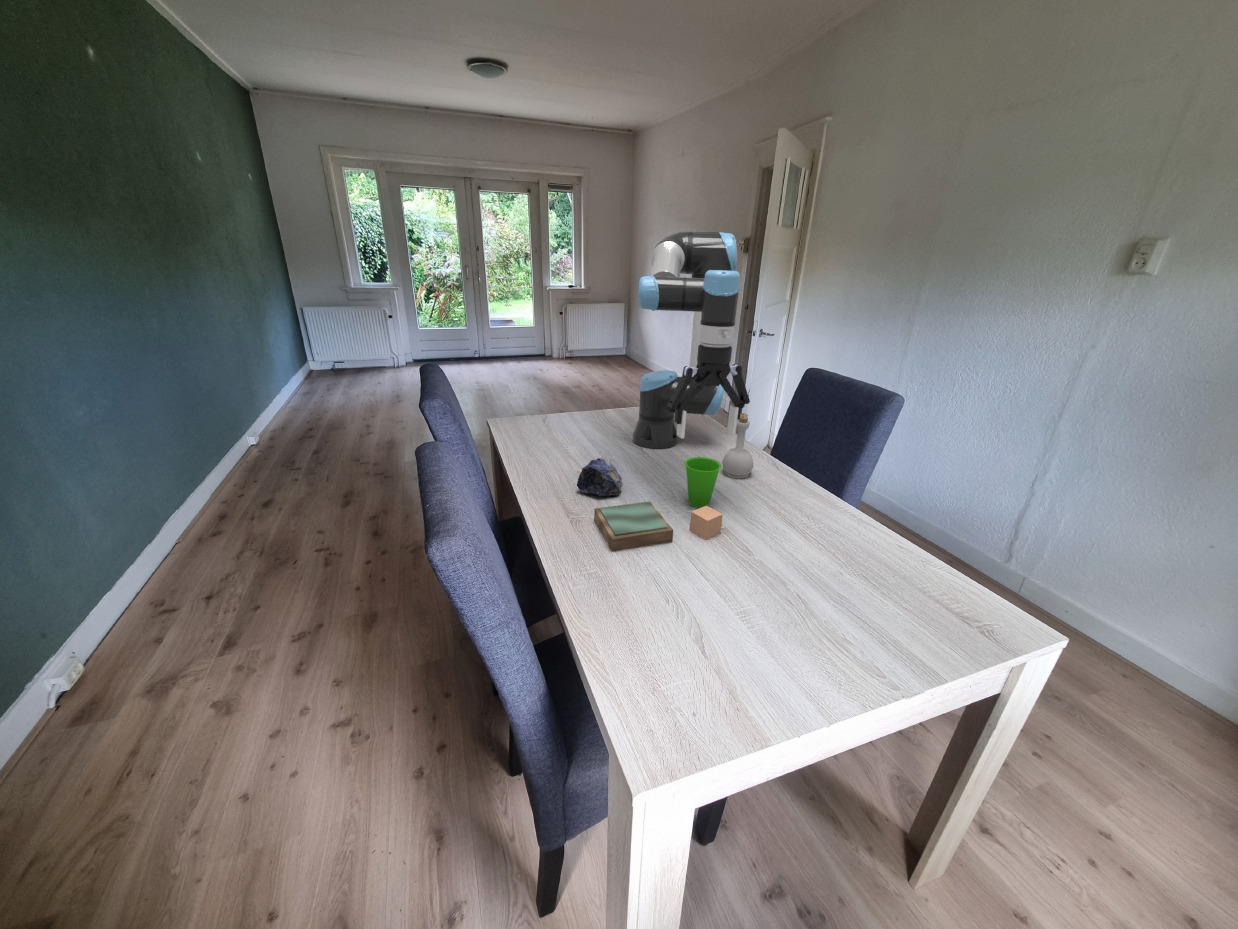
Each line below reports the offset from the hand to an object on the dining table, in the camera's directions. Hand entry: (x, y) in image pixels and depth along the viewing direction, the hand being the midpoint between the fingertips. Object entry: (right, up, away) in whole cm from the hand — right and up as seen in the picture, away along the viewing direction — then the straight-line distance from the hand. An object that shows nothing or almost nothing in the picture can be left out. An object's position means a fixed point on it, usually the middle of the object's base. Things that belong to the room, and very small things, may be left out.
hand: (706, 434), depth 118 cm
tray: (-18, -22, -5) cm, 29 cm away
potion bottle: (+13, -10, +26) cm, 30 cm away
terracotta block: (-1, -23, -5) cm, 23 cm away
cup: (-1, -17, +8) cm, 19 cm away
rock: (-25, -15, +13) cm, 32 cm away
